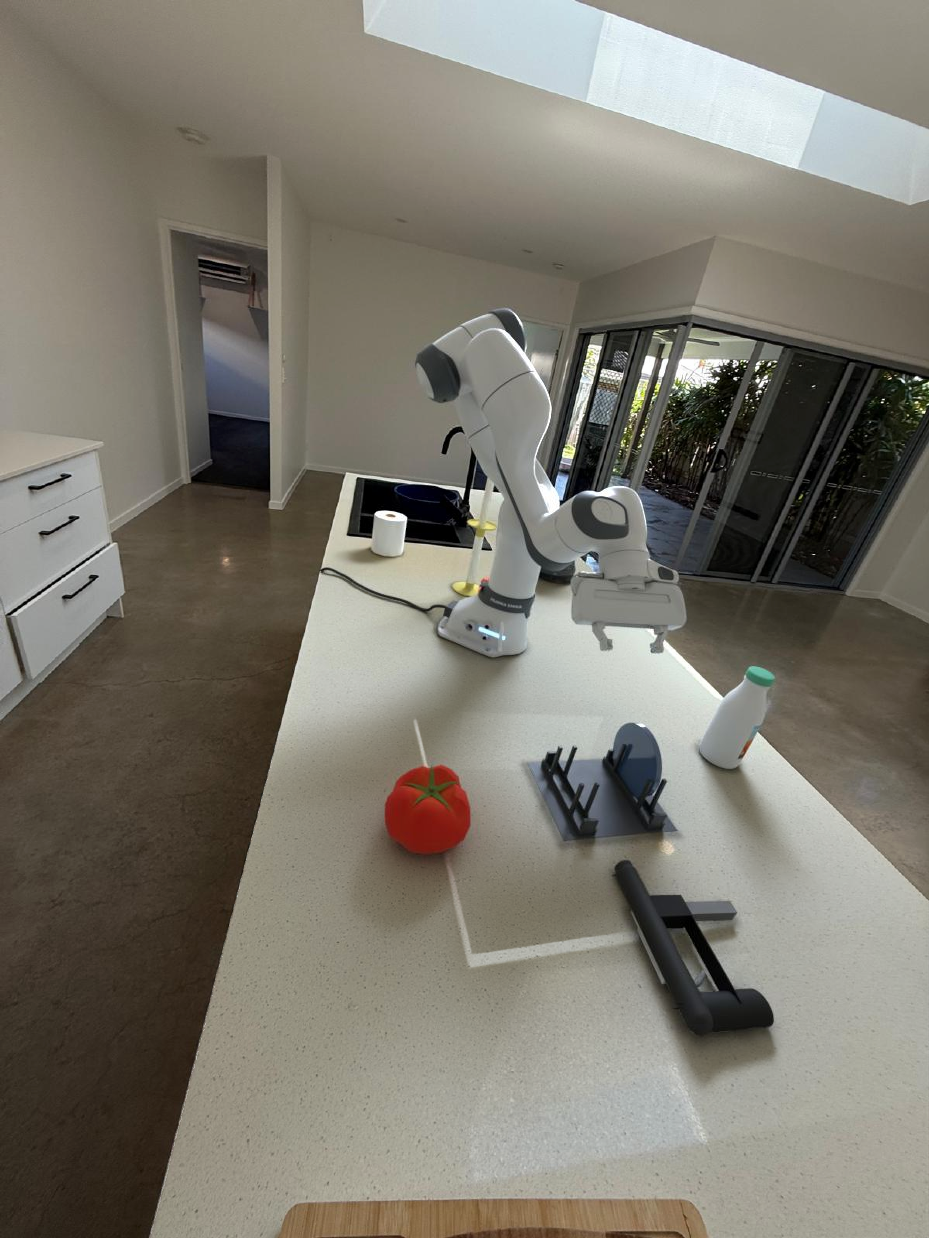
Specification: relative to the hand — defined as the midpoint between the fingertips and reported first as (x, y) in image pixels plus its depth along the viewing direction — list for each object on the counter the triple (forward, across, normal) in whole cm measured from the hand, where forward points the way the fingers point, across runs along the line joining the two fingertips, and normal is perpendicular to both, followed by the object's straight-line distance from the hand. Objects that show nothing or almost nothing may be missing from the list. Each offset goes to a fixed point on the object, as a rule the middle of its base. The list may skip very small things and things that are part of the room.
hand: (632, 651), depth 86 cm
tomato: (+28, -34, +1) cm, 44 cm away
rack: (+24, -5, +6) cm, 25 cm away
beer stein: (-46, +16, +79) cm, 92 cm away
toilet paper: (-49, -39, +80) cm, 101 cm away
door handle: (+40, -2, -10) cm, 42 cm away
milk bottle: (+17, +25, +15) cm, 34 cm away
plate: (+23, +1, +6) cm, 24 cm away
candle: (-32, -15, +63) cm, 72 cm away
